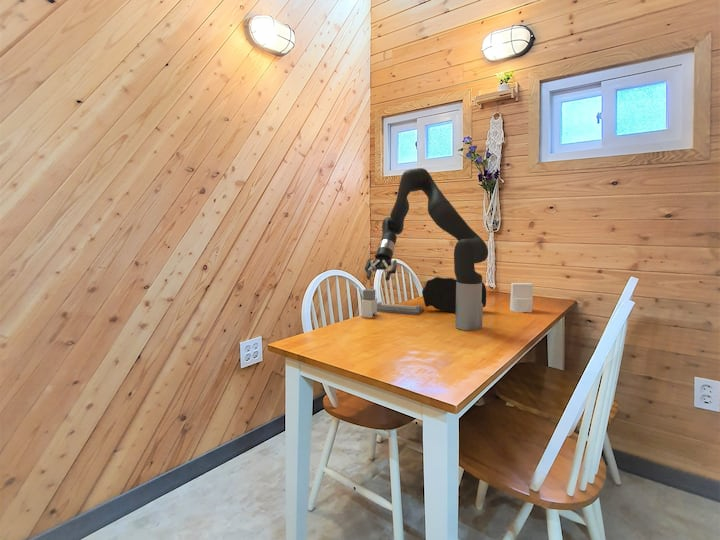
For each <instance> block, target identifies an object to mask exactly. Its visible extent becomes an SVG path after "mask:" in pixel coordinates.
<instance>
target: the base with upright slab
mask: <svg viewBox="0 0 720 540" xmlns="http://www.w3.org/2000/svg"><path fill="white" fill-rule="evenodd" d="M533 297H534V283H532V282H511V283H510V300H509V301H510V302H509V303H510V305H509V310H510V311H511V312H513V311H514V312H515V313H519V312H530V313H532V312H533V299H534V298H533ZM514 312H513V313H514Z"/></svg>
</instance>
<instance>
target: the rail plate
mask: <svg viewBox="0 0 720 540" xmlns="http://www.w3.org/2000/svg"><path fill="white" fill-rule="evenodd" d="M379 311H385V312H384V313H390V312H393V313H394V314H402V313H403V314H405V315H412V316H413V315H417V316H418V315H420V314H421V313H422V312H423V311H424V307H423V306H421V304H417V305H415V306H414V305H406V304H405V305H402V304H391V303H383V302H382V301H378V302H377V312H379ZM393 313H392V314H393Z"/></svg>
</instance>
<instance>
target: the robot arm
mask: <svg viewBox="0 0 720 540" xmlns="http://www.w3.org/2000/svg"><path fill="white" fill-rule="evenodd" d="M418 191H422V192H423V193H424V194H425V195H426V197H427V199H428V201H427V212H428V215H429V216H430V219H432V221H433V222H434V224H435V225H437V226H438V227H439V229H442V230H443V231H444V232H446V233H448V234H449V235H450V236H451V237H454V238H455V239H456V240H457V242H456V243H455V245H454V251H453V267H454V269H453V270H454V275H455V279H456V311H455V312H454V313H455V314H454V315H455V317H454V319H455V320H454V326H455V327H454V328H456V329H459V330H462V331H477V330H483V321H484V320H483V319H484V317H483V316H484V307H483V304H482V303H481V300H482V282H483V275H482V274H481V273H479V272H477V270H476V268H475V264H481V263H483V262H484V261H485V262H486V260H487V259H488V257H489V248H488V246H487V244H486V242H485V240H483V239H482V237H480V236H479V234H477V232H476V231H474V230H473V229H472V228H471V227H470V225H468V223H467V222H466V221H465V220H464V218H463V217H462V216H461V215H460V214H459V212H458V211H457V210H456V208H455V207H454V206H453V204H452V203H451V202H450V201H449V200H448V198H447V197H446V196H445V194H443V193H442V191H441V190H440V188H439V187H438V185H437V184H436V183H435V180H434V179H433V177H432V176H431V175H430V173H429V171H427V169H425V168H421V167H419V168H411V169H407V170H405V171H404V172H403V173H402V175H401V178H400V182H399V185H398V190H397V195H396V199H395V203H394V205H393V207H392V209H391V212H390V215H389V216H386V217H385V218H384V219H383V220H382V224H381V227H382V229H381V231H382V233H381V235H382V236H381V240H380V242H379V244H378V248H377V251H376V254H375V258H374V260H371V258H368V259H367V261H366V264H365V266H364V270H365V272H366V278H367V280H368V281H371V277H372V275H373V274H372V273H373V272H376V271H377V270H378V271H385V270H386V274H385V277H384V279H385V282H388V281H389V280H390V278H391V275H394V274H396V273H397V267H398V261H397V260H396V259H394V260H392V259H393V255H394V253H395V247H396V243H397V239H398V237H397V236H398V235H400V234H402V233H403V231H404V225H405V224H404V223H405V218H406V216H407V214H408V212H409V211H410V204H409V200H408V196H409V194H410V193H412V192H418ZM391 265H392V266H391ZM390 266H391V267H392V269H391V268H390Z"/></svg>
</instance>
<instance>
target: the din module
mask: <svg viewBox="0 0 720 540" xmlns="http://www.w3.org/2000/svg"><path fill="white" fill-rule="evenodd" d="M362 297H363V298H362V300H361V302H360V303H361V318H367V319H368V318H369V319H372V318H374V316H376V315H378V311H377V303H378V297H377V298H376V289H372V288H371V289H369V288H365V289H363V291H362ZM373 314H374V315H373Z"/></svg>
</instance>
